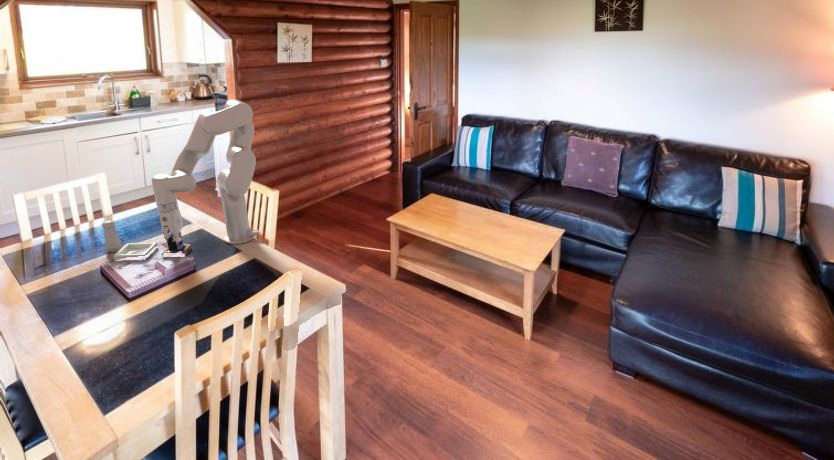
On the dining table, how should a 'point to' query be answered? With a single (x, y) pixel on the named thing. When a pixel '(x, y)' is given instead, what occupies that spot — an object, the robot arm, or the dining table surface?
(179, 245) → the pill bottle
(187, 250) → the beige square dish
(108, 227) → the salt shaker
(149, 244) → the tray
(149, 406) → the dining table surface
